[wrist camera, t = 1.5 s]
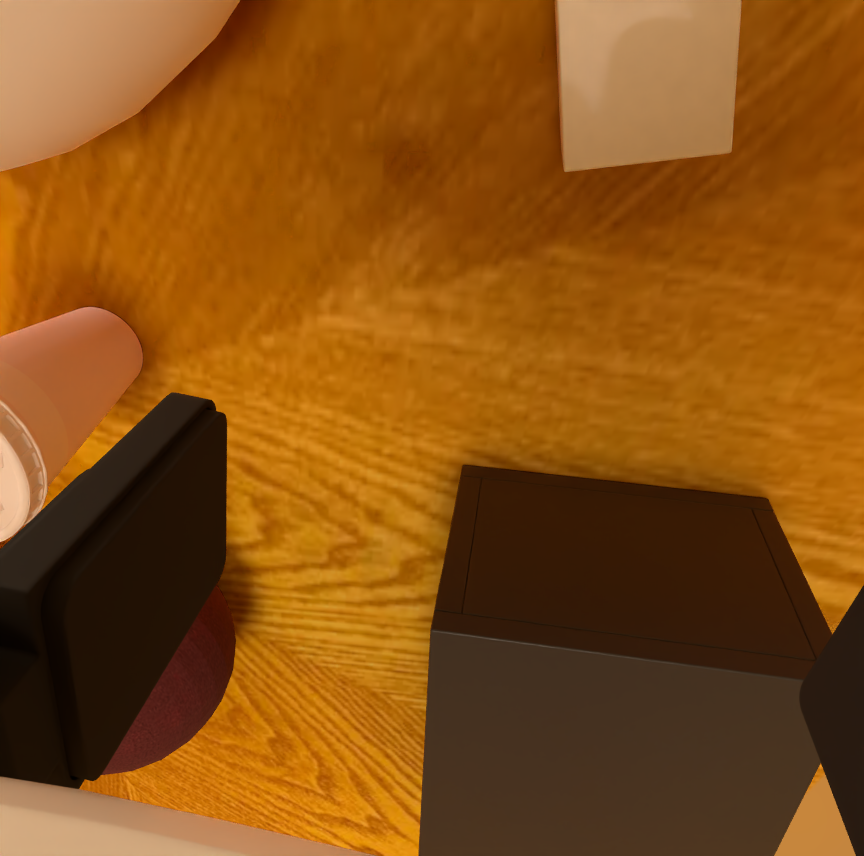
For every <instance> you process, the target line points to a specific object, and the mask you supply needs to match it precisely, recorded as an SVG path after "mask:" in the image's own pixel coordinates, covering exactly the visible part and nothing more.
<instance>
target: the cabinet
mask: <svg viewBox="0 0 864 856" xmlns="http://www.w3.org/2000/svg"><path fill="white" fill-rule="evenodd" d="M831 636H832V633H831V631H830V629H829V627H828V624H827V622H826V620H825V618H824V616H823V614H822V612H821V610H820V608H819V606H818V603H817V601H816V599H815V597H814V595H813V593H812V591H811V589H810V587H809V585H808V582H807V580H806V578H805V576H804V574H803V572H802V570H801V568H800V566H799V564H798V561H797V559H796V557H795V555H794V553H793V551H792V549H791V547H790V545H789V543H788V540H787V538H786V536H785V534H784V532H783V530H782V528H781V526H780V524H779V522H778V519H777V517H776V515H775V513H774V512H773V509H772V506H771V504H770V502H769V500H768V499H765V498H756V497H747V496H738V495H729V494H720V493H711V492H702V491H693V490H684V489H675V488H666V487H657V486H648V485H639V484H630V483H621V482H612V481H603V480H594V479H585V478H576V477H567V476H558V475H549V474H540V473H531V472H522V471H513V470H504V469H495V468H486V467H477V466H468V465H463V466H462V472H461V477H460V482H459V487H458V492H457V497H456V502H455V507H454V512H453V517H452V523H451V528H450V533H449V538H448V543H447V548H446V553H445V558H444V564H443V569H442V574H441V579H440V584H439V589H438V594H437V599H436V604H435V610H434V615H433V620H432V625H431V632H430V650H429V669H428V688H427V706H426V725H425V744H424V762H423V781H422V800H421V819H420V837H419V856H774V855H775V853H776V851H777V849H778V847H779V845H780V843H781V841H782V839H783V837H784V835H785V833H786V831H787V829H788V827H789V825H790V823H791V821H792V819H793V817H794V815H795V813H796V811H797V809H798V807H799V805H800V803H801V801H802V799H803V797H804V795H805V793H806V791H807V789H808V787H809V785H810V783H811V781H812V779H813V777H814V775H815V773H816V771H817V769H818V767H819V765H820V763H821V761H820V759H819V756H818V753H817V751H816V748H815V746H814V743H813V740H812V738H811V735H810V732H809V730H808V727H807V724H806V722H805V719H804V716H803V714H802V711H801V707H800V702H799V694H800V688H801V685H802V683H803V681H804V679H805V677H806V676H807V674H808V673H809V671H810V669H811V668H812V666H813V665H814V663H815V662H816V660H817V658H818V657H819V655H820V654H821V652H822V650H823V649H824V647H825V646H826V644H827V643H828V641H829V639H830V638H831Z"/></svg>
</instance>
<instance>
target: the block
mask: <svg viewBox="0 0 864 856" xmlns="http://www.w3.org/2000/svg"><path fill="white" fill-rule="evenodd" d="M741 3H742V0H555V21H556V45H557V68H558V91H559V114H560V137H561V153H562V161H563V169H564V172H571V171H580V170H589V169H597V168H606V167H615V166H624V165H632V164H641V163H650V162H658V161H667V160H676V159H685V158H693V157H702V156H711V155H719V154H728V153H731V151H732V141H733V126H734V110H735V95H736V80H737V64H738V49H739V34H740V18H741Z"/></svg>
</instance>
